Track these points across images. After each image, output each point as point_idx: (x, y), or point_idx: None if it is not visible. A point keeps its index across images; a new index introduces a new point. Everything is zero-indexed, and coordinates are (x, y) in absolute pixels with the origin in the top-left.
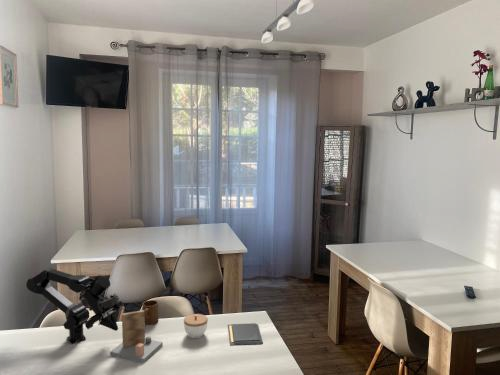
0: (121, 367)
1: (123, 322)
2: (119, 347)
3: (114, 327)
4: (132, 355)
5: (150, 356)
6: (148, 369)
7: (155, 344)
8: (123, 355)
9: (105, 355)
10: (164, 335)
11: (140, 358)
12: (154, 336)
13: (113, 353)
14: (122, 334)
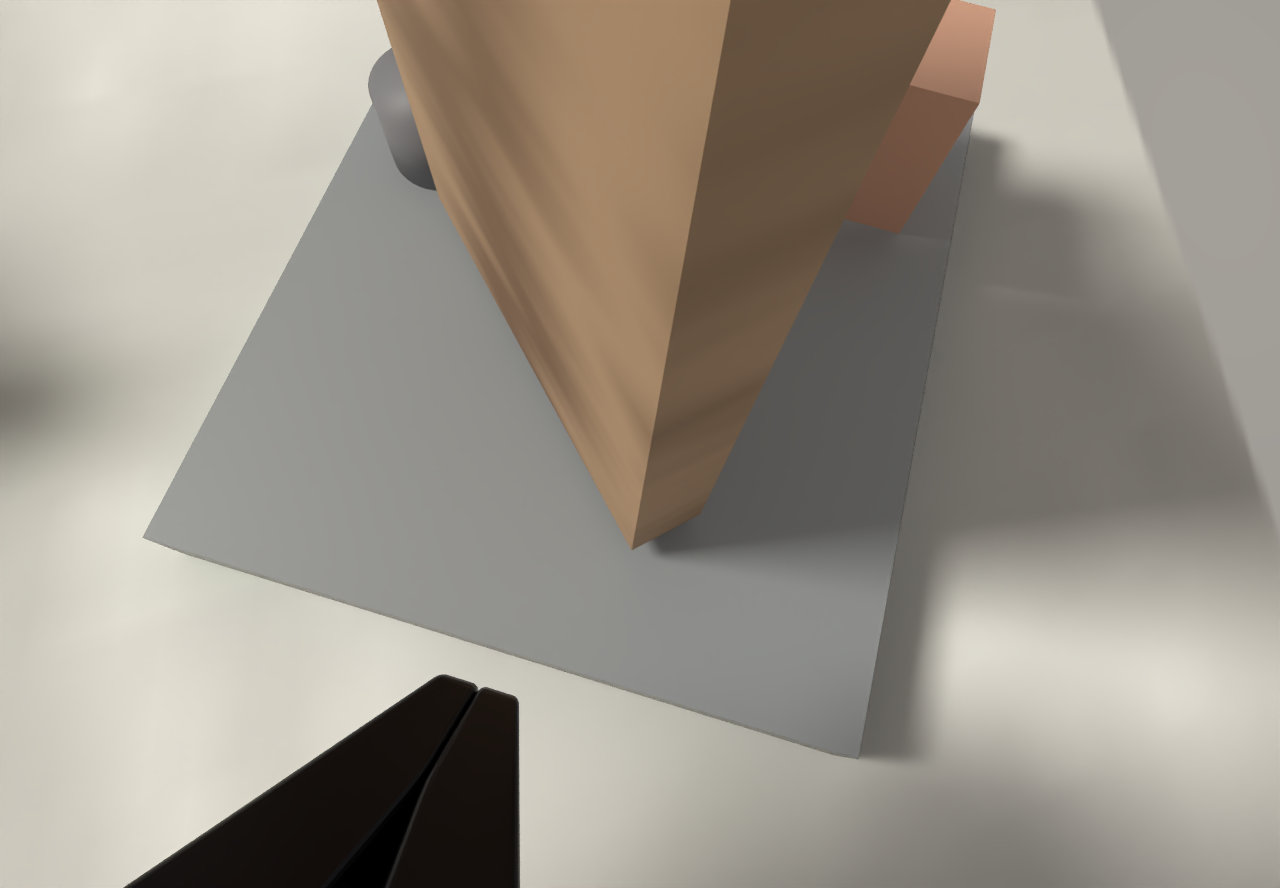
0: (1151, 402)
1: (897, 25)
2: (667, 614)
3: (510, 832)
4: (917, 278)
5: None
6: (1089, 54)
7: None
8: (908, 446)
9: (858, 861)
10: (119, 39)
11: (967, 146)
12: (130, 171)
13: (867, 672)
14: (651, 469)
